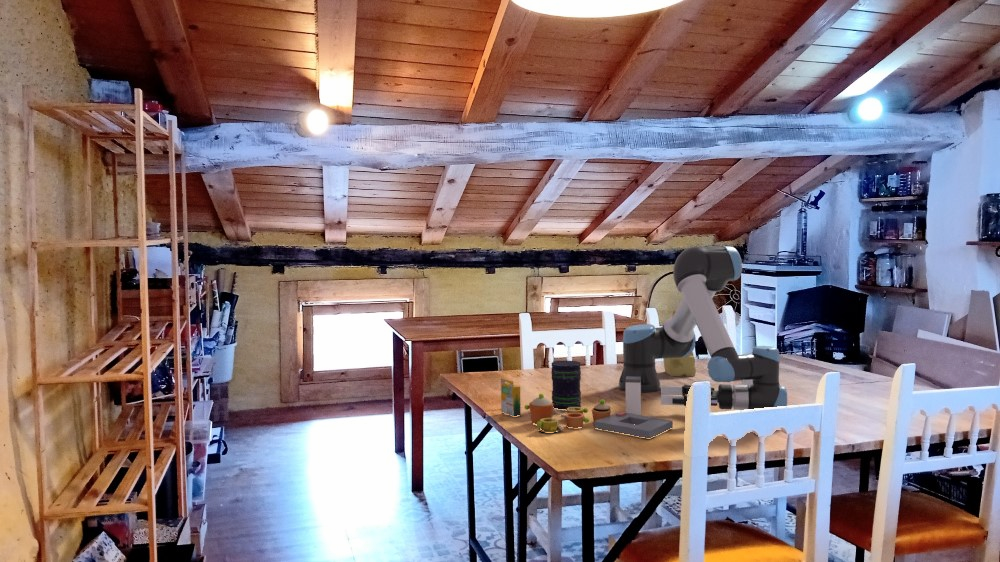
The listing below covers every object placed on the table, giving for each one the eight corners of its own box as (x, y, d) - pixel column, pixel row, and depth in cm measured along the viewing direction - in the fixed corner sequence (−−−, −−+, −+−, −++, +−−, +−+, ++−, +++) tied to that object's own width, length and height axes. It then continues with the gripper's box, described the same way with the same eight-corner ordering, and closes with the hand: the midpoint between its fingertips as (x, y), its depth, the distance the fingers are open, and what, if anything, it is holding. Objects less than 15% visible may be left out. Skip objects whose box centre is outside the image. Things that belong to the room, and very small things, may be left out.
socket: (594, 429, 202) (594, 419, 202) (619, 419, 213) (619, 409, 213) (649, 440, 191) (649, 429, 190) (672, 429, 201) (672, 418, 201)
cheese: (695, 376, 276) (695, 351, 276) (669, 376, 276) (669, 352, 276) (689, 371, 287) (689, 347, 286) (663, 371, 287) (663, 348, 286)
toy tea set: (542, 437, 197) (541, 404, 196) (519, 424, 211) (518, 393, 210) (619, 425, 207) (618, 394, 206) (592, 414, 221) (591, 384, 221)
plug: (625, 416, 216) (625, 379, 215) (626, 413, 220) (626, 376, 219) (640, 417, 215) (640, 379, 214) (640, 413, 219) (640, 376, 218)
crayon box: (521, 416, 219) (520, 380, 218) (513, 418, 217) (512, 381, 216) (508, 412, 225) (508, 377, 224) (501, 413, 223) (500, 378, 223)
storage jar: (546, 405, 232) (546, 362, 231) (572, 402, 236) (571, 359, 235) (560, 412, 223) (560, 367, 222) (586, 408, 227) (586, 364, 226)
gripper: (736, 419, 198) (660, 416, 203) (728, 399, 222) (661, 397, 227) (736, 394, 198) (660, 391, 202) (728, 376, 222) (661, 375, 227)
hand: (660, 394), depth 215 cm, fingers open, 13 cm apart
